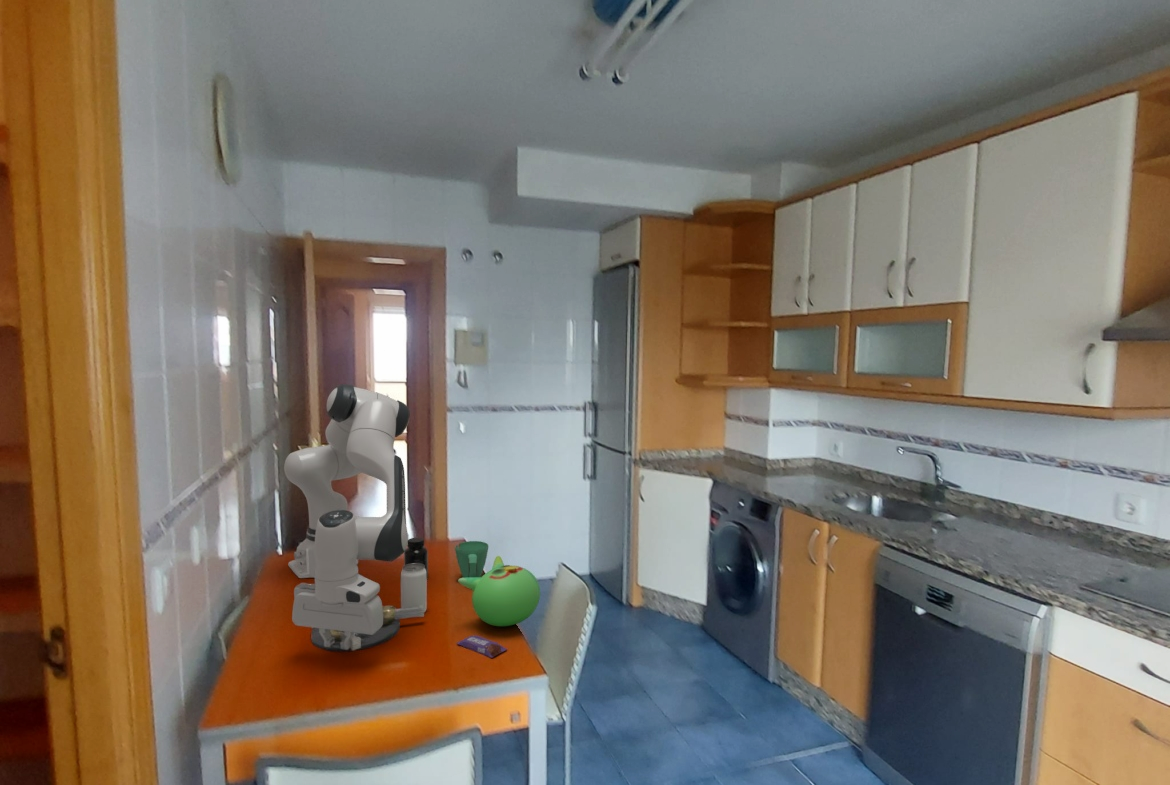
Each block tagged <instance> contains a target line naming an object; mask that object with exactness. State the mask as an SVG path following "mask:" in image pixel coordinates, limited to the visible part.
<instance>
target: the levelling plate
mask: <svg viewBox="0 0 1170 785" xmlns="http://www.w3.org/2000/svg"><path fill="white" fill-rule="evenodd" d="M400 628H401V619H395V622H393V623H390V624H383V625H382V627H381V628H380V629H379V630H378V631H377V632H376V633H374V634H373V635H370V634H362V633H355V634H354V635H355V636H357V637H360V638H361V648H359V649H356V650H352V649H351V647H350V648H349V649H348V650H344V649H341V648H340V647H341V645H340V642H341V641H335V644H334V646H332V647H331V648H328V647H324V640H323V638H322V636H321V635H320V633H319V628H313V627H312V628H311V635H310V636H311V642H312V644H313V645H314V646H315V647H317V648H318V649H321V650H324V651H329V652H336V653H337V652H340V653H342V652H354V651H360V650H361V651H362V650H366V649H369V648H374V647H376V646H379V645H382V644H384V643H386V642H388V641H389V640H391V639H393V638H394V637H395V636H397V634H398V633H399V631H400ZM329 632H330V630H329Z"/></svg>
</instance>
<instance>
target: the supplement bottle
mask: <svg viewBox="0 0 1170 785" xmlns="http://www.w3.org/2000/svg"><path fill="white" fill-rule="evenodd" d="M403 554H404V556H403V557H404V559H403V560H404V564H403V566H405V565H407V564H412V563H420V564H424V565H425V567H424V568H425V570H426V579H428V576H429V552H428V549H427V548H426V547H425V538H423V537H411V538H408V543H407V547H406V550H405V552H404V553H403Z"/></svg>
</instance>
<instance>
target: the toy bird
mask: <svg viewBox="0 0 1170 785" xmlns="http://www.w3.org/2000/svg"><path fill="white" fill-rule="evenodd" d="M457 582H458V584H460V585H462V586H463V587H466V588H468V589H470V590H472V596H471V601H472V602H471V603H472V607H473V610H474V612H475V614H476V615H477V616H478V618H480V619H481V621H483V622H485V623H486V624H488V625H491V626H495V627H510V626H514V625H517V624H520V623H522V622H523V621H525V620H527V619H528V618H529V617H530V616H531V615H532V614H533V613H534V612H535V610H536V609H537V607H538V605H539V603H540V602H539V601H540V597H541V588H540V583H539V582H538V580H537V578H536V577H535V575H534V573H532V572H531V571H530V570H529V569H527V568H524V567H522V566H518V565H509V564H507V565H505V564H504V561H503V559H502V557H501V556H500V555H497V556H495V558H494V561H493V565H492V568H491V570H489V571H487V572H486V573H485V574H483V575H481V577H466V578H463V577H460V578H459V579H458V580H457Z"/></svg>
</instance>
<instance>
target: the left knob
mask: <svg viewBox="0 0 1170 785" xmlns="http://www.w3.org/2000/svg"><path fill="white" fill-rule="evenodd" d="M382 608H383V624H390V623H393V622H395V619H400V620H401V619H409V618H417V617H419V618H422V617H425V612H424V605H420V606H418V607H409V608H401V607H400V608H396V606H394V605H382Z"/></svg>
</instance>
